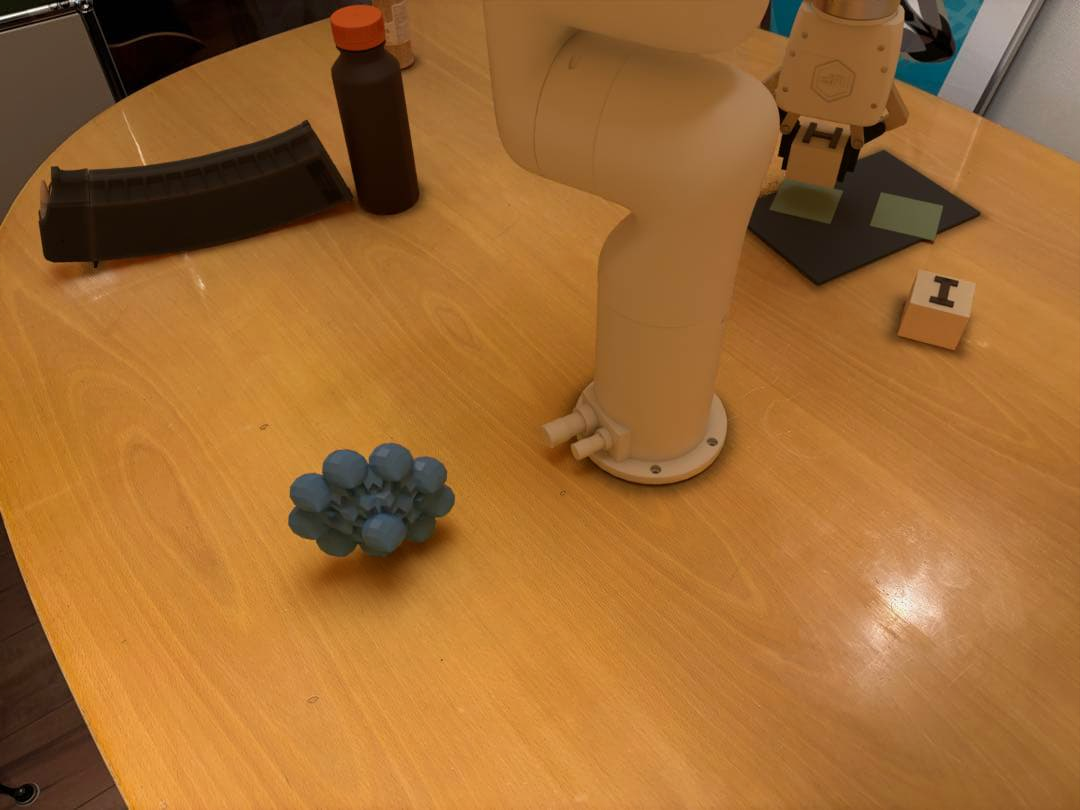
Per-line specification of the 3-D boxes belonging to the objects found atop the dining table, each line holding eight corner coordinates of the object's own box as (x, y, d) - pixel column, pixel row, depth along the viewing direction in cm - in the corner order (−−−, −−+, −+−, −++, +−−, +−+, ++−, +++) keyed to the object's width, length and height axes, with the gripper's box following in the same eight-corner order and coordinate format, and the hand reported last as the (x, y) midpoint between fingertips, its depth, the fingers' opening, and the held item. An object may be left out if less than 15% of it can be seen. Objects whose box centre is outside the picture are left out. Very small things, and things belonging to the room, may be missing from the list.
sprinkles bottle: (373, 64, 116) (355, -42, 106) (399, 51, 119) (383, -53, 109) (396, 74, 114) (380, -32, 104) (422, 61, 117) (408, -44, 106)
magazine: (357, 116, 90) (22, 95, 77) (364, 132, 88) (21, 113, 75) (340, 254, 101) (45, 256, 88) (347, 271, 99) (45, 275, 86)
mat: (824, 291, 84) (825, 288, 83) (720, 205, 93) (720, 201, 93) (987, 220, 91) (988, 216, 90) (874, 146, 100) (875, 143, 100)
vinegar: (346, 195, 96) (306, 14, 81) (398, 172, 99) (368, -7, 84) (379, 223, 93) (342, 39, 78) (431, 199, 95) (406, 17, 81)
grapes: (322, 625, 61) (280, 530, 52) (302, 549, 66) (260, 449, 57) (478, 568, 64) (463, 469, 55) (449, 500, 68) (431, 397, 59)
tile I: (954, 350, 78) (970, 315, 75) (896, 335, 79) (910, 299, 76) (961, 316, 81) (977, 280, 78) (906, 302, 82) (919, 266, 79)
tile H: (833, 189, 88) (843, 152, 85) (784, 178, 90) (792, 141, 87) (843, 163, 91) (853, 126, 88) (796, 153, 93) (804, 116, 90)
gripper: (750, -7, 77) (724, 170, 91) (952, 25, 72) (892, 208, 86) (772, -40, 81) (744, 134, 95) (964, -12, 76) (905, 167, 90)
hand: (814, 167), depth 90 cm, fingers closed on tile H, 5 cm apart
